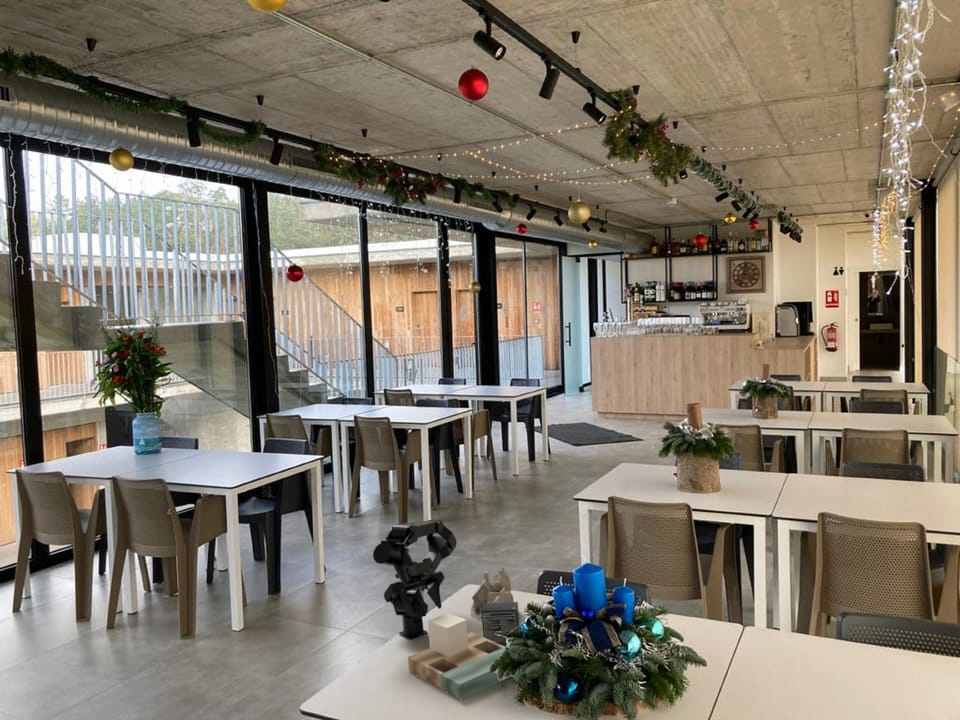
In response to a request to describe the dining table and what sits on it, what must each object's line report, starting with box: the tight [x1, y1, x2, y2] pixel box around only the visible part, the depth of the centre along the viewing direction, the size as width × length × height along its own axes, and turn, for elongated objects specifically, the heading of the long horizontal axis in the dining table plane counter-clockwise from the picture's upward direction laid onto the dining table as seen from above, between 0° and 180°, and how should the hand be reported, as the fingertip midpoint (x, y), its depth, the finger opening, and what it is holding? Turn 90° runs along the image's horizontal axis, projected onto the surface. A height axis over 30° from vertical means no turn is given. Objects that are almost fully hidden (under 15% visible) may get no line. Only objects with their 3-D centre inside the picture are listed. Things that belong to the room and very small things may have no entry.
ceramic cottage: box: [470, 565, 515, 623], centre depth 241 cm, size 16×16×15 cm
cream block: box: [427, 612, 468, 657], centre depth 209 cm, size 8×7×8 cm
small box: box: [481, 601, 520, 646], centre depth 221 cm, size 11×6×10 cm, turn 84°
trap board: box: [407, 631, 507, 701], centre depth 203 cm, size 23×22×4 cm
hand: (427, 611), depth 216 cm, fingers open, 9 cm apart
